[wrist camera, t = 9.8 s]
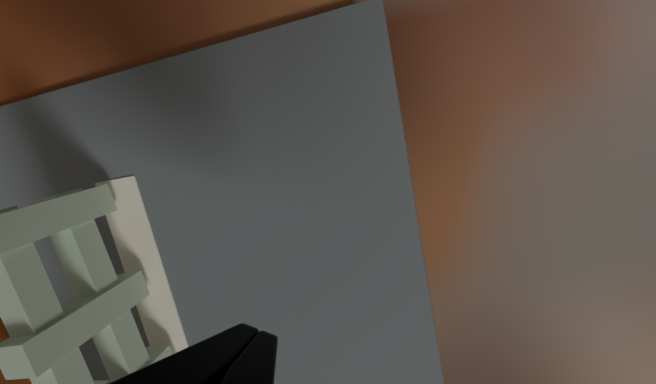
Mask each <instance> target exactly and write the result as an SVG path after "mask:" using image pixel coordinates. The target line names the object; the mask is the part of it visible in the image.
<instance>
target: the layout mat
mask: <svg viewBox="0 0 656 384" xmlns="http://www.w3.org/2000/svg"><path fill="white" fill-rule="evenodd" d="M105 184H108V186H109V188H110V191H111V194H112V196H113V199H114V201H115V204H116V207H117V209H118V210H117V211H114V212H111V213H109V214H106V215H103V216H101V217H98V218H95V219H94V220H95V223H96V225H97V228H98V230H99V233H100V235H101V238H102V240H103V243H104V245H105V248H106V250H107V253H108V255H109V258H110V260H111V263H112V265H113V268H114V270H115V273H116V275H117V274H123V273H128V272H134V271H140V270H141V272H142V274H143V277H144V279H145V282H146V285H147V287H148V290H149V293H150V295H149V296H147V297H146V298H144V299H143V300H142V301H140V302H139V303H138V304H136V305H135V306H134V307H132V308H131V309H130V310H131V313H132V315H133V318H134V320H135V323H136V326H137V328H138V331H139V333H140V336H141V338H142V341H143V343H144V346H145V347H154V346H164V345H170V347H171V350H172V352H173V354H174V353H176V352H179V351H181V350H183V349H185V348H187V347H189V346H192V345H194V344H196V343H198V342H200V341H203V340H205V339H207V338H209V337H211V336H214V335H216V334H218V333H220V332H222V331H225V330H227V329H229V328H231V327H233V326H235V325H238V324H240V323H245V324H248V325H250V326H253V327H255V328H257V329H258V330H259V331H262V330H263V331H266V332H268V333H271V334H274V335H276V336H277V337H278V345H277V356H276V367H275V378H274V384H444V379H443V372H442V367H441V360H440V354H439V348H438V341H437V335H436V329H435V323H434V317H433V310H432V303H431V297H430V291H429V285H428V278H427V272H426V266H425V260H424V253H423V247H422V241H421V235H420V228H419V222H418V216H417V210H416V203H415V197H414V191H413V185H412V178H411V172H410V166H409V160H408V153H407V147H406V141H405V135H404V128H403V122H402V116H401V110H400V104H399V98H398V91H397V85H396V79H395V72H394V66H393V60H392V54H391V48H390V41H389V35H388V29H387V22H386V17H385V10H384V4H383V0H366V1H363V2H359V3H356V4H352V5H349V6H345V7H342V8H338V9H335V10H331V11H328V12H325V13H321V14H318V15H314V16H311V17H307V18H304V19H300V20H297V21H293V22H290V23H287V24H283V25H280V26H276V27H273V28H269V29H266V30H262V31H259V32H255V33H252V34H248V35H245V36H242V37H238V38H235V39H231V40H228V41H224V42H221V43H217V44H214V45H210V46H207V47H204V48H200V49H197V50H193V51H190V52H186V53H183V54H179V55H176V56H172V57H169V58H166V59H162V60H159V61H155V62H152V63H148V64H145V65H141V66H138V67H134V68H131V69H128V70H124V71H121V72H117V73H114V74H110V75H107V76H103V77H100V78H96V79H93V80H89V81H86V82H83V83H79V84H76V85H72V86H69V87H65V88H62V89H58V90H55V91H51V92H48V93H45V94H41V95H38V96H34V97H31V98H27V99H24V100H20V101H17V102H13V103H10V104H7V105H3V106H0V210H2V209H5V208H9V207H13V206H17V207H18V208H22V207H25V206H29V205H32V204H35V203H34V201H35V200H39V199H42V198H46V197H50V196H53V195H57V194H61V193H64V192H68V191H72V190H76V189H79V188H82V190H86V189H90V188H94V187H97V186H101V185H105ZM33 243H34V246H35V248H36V250H37V253H38V255H39V257H40V259H41V262H42V264H43V266H44V269H45V271H46V273H47V275H48V278H49V280H50V282H51V285H52V287H53V289H54V292H55V294H56V296H57V298H58V301H59V303H60V305H61V307H62V306H64V305H65V304H67V303H69V302H70V301H72V300H74V299H75V296H74V294H73V292H72V289H71V287H70V285H69V282H68V280H67V278H66V275H65V273H64V271H63V268H62V266H61V264H60V261H59V259H58V257H57V254H56V252H55V249H54V247H53V245H52V242H51V240H50V238H49V236H48V237H45V238H42V239H40V240H37V241H34V242H33ZM79 349H80V351H81V353H82V356H83V358H84V360H85V363H86V365H87V367H88V369H89V372H90V374H91V376H92V379H93V381H94V383H95V384H106V383H107V382H108V381H109V380H110V378H109V376H108V374H107V371H106V369H105V367H104V364H103V362H102V360H101V357H100V355H99V353H98V350H97V348H96V346H95V343H94V341H93V339H92V337H91V338H90V339H89V340H87V341H86V342H85V343H83V344H82V345H81V346H79Z"/></svg>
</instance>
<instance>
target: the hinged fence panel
mask: <svg viewBox="0 0 656 384" xmlns="http://www.w3.org/2000/svg"><path fill="white" fill-rule="evenodd" d="M34 203H35V204H32V205H29V206H25V207H22V208H18V207H17V206H13V207H9V208H5V209H2V210H0V317H1V319H2V321H3V323H4V326H5V328H6V330H7V332H8V334H9V336H10V337H9V338H8V339H6V340H4V341H2V342H1V343H0V369H1V371H2V373H3V375H4V377H5V379H6V380H14V379H26V378H30V381H31V383H32V384H95V383H94V381H93V379H92V376H91V374H90V372H89V369H88V367H87V365H86V363H85V360H84V358H83V356H82V353H81V351H80V349H79V346H81V345H82V344H83V343H85V342H86V341H87V340H89V339H90V338H91V337H92V339H93V341H94V343H95V346H96V348H97V350H98V353H99V355H100V357H101V360H102V362H103V364H104V367H105V369H106V371H107V374H108V376H109V378H110V380H109V381H108V382H107V383H106V384H108V383H111V382H113V381H115V380H117V379H119V378H122V377H124V376H126V375H128V374H130V373H133V372H135V371H137V370H139V369H141V368H143V367H146V366H148V365H150V364H152V363H154V362H157V361H159V360H161V359H163V358H165V357H168V356H170V355H172V354H173V352H172V350H171V347H170V345H164V346H154V347H145V346H144V343H143V341H142V338H141V336H140V333H139V331H138V328H137V326H136V323H135V320H134V318H133V315H132V313H131V310H130V309H131V308H132V307H134V306H135V305H136V304H138V303H139V302H140V301H142V300H143V299H144V298H146V297H147V296H149V295H150V293H149V290H148V287H147V285H146V282H145V279H144V277H143V274H142V272H141V270H140V271H134V272H128V273H123V274H117V275H116V273H115V270H114V268H113V265H112V263H111V260H110V258H109V255H108V253H107V250H106V248H105V245H104V243H103V240H102V238H101V235H100V233H99V230H98V228H97V225H96V223H95V220H94V219H95V218H98V217H101V216H103V215H106V214H109V213H111V212H114V211H117V210H118V209H117V207H116V204H115V201H114V199H113V196H112V194H111V191H110V188H109V186H108V184H105V185H101V186H97V187H94V188H90V189H86V190H82V188H79V189H76V190H72V191H68V192H64V193H61V194H57V195H53V196H50V197H46V198H42V199H39V200H35V201H34ZM48 236H49V238H50V240H51V242H52V245H53V247H54V249H55V252H56V254H57V257H58V259H59V261H60V264H61V266H62V268H63V271H64V273H65V275H66V278H67V280H68V282H69V285H70V287H71V289H72V292H73V294H74V296H75V299H74V300H72V301H70V302H69V303H67V304H65V305H64V306H62V307H61V305H60V303H59V301H58V298H57V296H56V294H55V292H54V289H53V287H52V285H51V282H50V280H49V278H48V275H47V273H46V271H45V269H44V266H43V264H42V262H41V259H40V257H39V255H38V253H37V250H36V248H35V246H34V243H33V242H34V241H37V240H40V239H42V238H45V237H48Z"/></svg>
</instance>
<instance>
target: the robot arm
mask: <svg viewBox="0 0 656 384" xmlns="http://www.w3.org/2000/svg"><path fill="white" fill-rule="evenodd" d="M277 345H278V337H277V336H276V335H274V334H271V333H268V332H266V331H263V330H262V331H259V330H258V329H257V328H255V327H253V326H250V325H248V324H245V323H240V324H238V325H235V326H233V327H231V328H229V329H227V330H225V331H222V332H220V333H218V334H216V335H214V336H211V337H209V338H207V339H205V340H203V341H200V342H198V343H196V344H194V345H192V346H189V347H187V348H185V349H183V350H181V351H179V352H176V353H174V354H172V355H170V356H168V357H165V358H163V359H161V360H159V361H157V362H154V363H152V364H150V365H148V366H146V367H143V368H141V369H139V370H137V371H135V372H133V373H130V374H128V375H126V376H124V377H122V378H119V379H117V380H115V381H113V382H111V383H108V384H274V378H275V367H276V356H277Z"/></svg>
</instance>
